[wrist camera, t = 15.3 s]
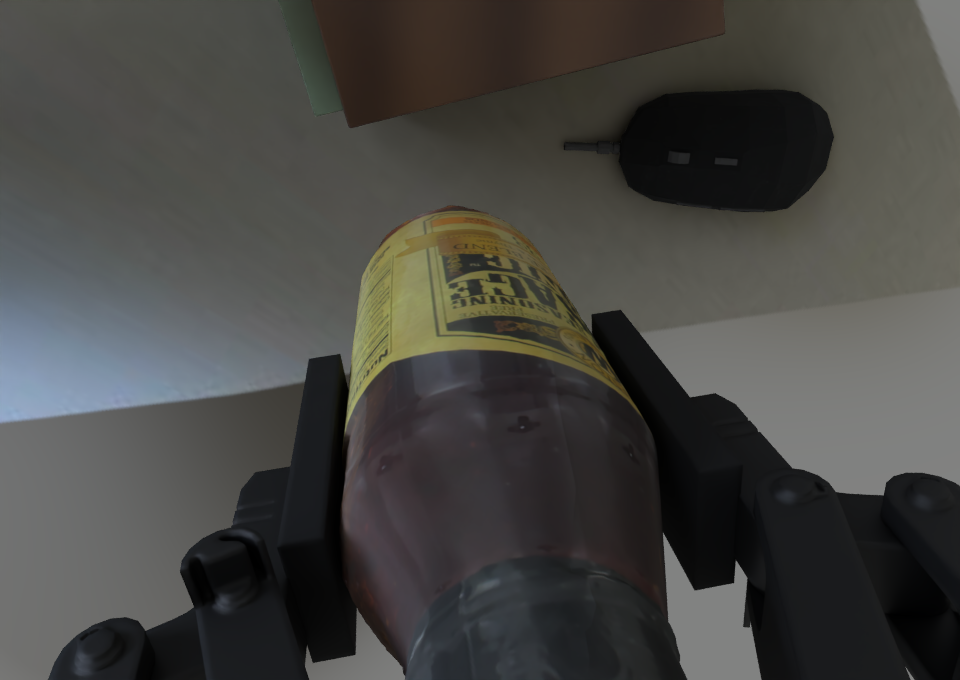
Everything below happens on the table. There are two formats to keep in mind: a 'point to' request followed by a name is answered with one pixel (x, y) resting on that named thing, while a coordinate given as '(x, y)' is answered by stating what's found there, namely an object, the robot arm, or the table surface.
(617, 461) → the sauce bottle
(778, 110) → the gaming mouse
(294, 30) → the drawer
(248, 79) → the table surface
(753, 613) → the robot arm
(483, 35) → the cabinet
